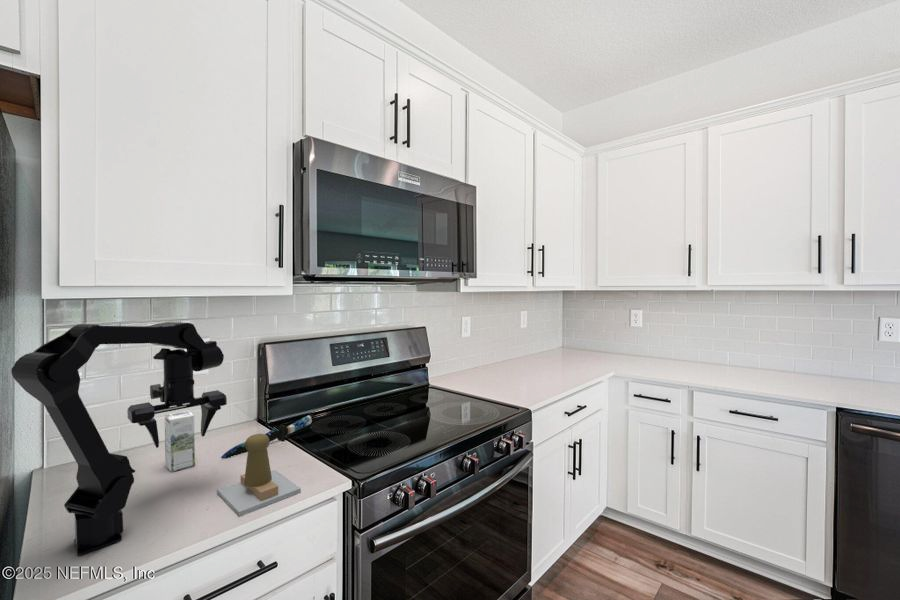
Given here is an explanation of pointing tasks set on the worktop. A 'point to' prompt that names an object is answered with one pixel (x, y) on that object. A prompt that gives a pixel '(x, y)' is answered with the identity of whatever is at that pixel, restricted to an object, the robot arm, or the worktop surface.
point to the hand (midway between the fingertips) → (180, 441)
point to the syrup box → (179, 440)
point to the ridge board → (250, 501)
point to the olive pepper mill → (257, 461)
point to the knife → (273, 435)
